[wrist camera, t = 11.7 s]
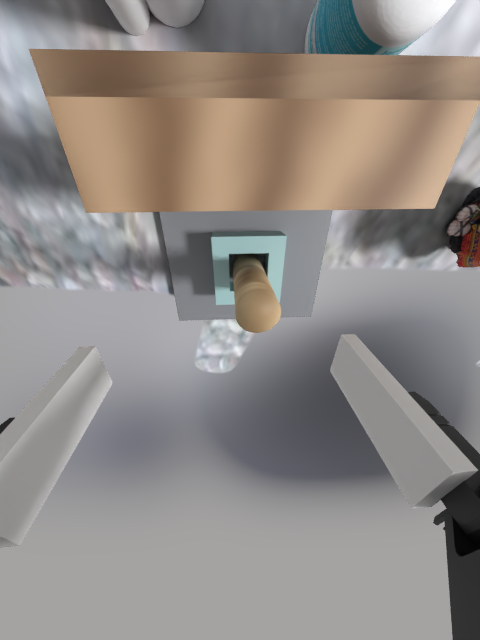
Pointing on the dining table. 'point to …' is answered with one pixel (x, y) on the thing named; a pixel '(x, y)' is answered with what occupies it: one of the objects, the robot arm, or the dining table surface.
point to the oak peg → (253, 295)
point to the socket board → (201, 260)
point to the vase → (154, 13)
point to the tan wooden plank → (258, 128)
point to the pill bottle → (370, 25)
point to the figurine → (466, 231)
